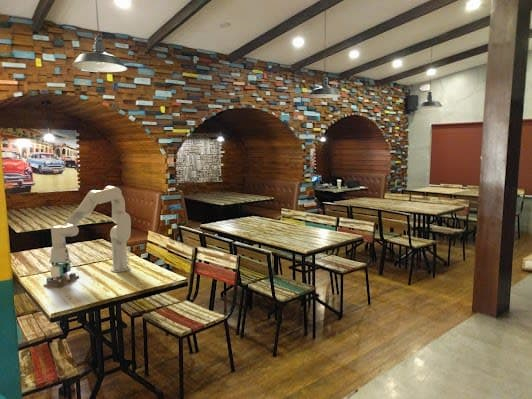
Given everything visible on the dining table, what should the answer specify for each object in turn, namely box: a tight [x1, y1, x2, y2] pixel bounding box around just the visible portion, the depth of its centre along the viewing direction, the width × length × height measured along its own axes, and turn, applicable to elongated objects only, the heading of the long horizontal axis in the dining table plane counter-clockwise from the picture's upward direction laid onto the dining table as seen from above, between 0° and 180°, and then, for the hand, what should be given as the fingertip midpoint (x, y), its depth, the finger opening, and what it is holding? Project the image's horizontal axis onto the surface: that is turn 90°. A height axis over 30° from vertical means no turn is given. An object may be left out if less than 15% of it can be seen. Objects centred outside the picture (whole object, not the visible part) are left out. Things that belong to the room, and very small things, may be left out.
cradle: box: [43, 272, 80, 288], centre depth 257 cm, size 19×12×4 cm, turn 174°
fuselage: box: [49, 261, 72, 278], centre depth 256 cm, size 13×5×6 cm, turn 174°
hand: (61, 272), depth 256 cm, fingers closed on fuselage, 5 cm apart
